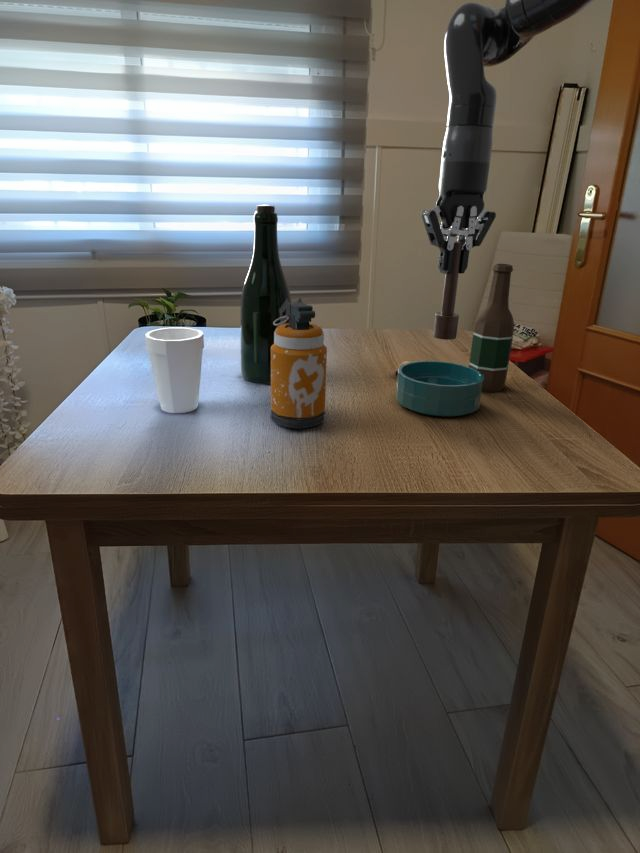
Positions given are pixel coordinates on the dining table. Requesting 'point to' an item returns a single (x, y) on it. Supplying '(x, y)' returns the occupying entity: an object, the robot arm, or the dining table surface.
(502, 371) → the beer bottle
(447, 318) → the muddler
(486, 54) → the robot arm
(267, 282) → the green wine bottle
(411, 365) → the bowl
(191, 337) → the foam cup
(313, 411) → the canister
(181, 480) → the dining table surface
